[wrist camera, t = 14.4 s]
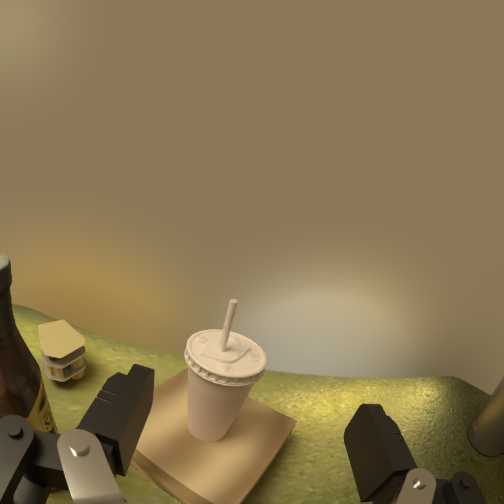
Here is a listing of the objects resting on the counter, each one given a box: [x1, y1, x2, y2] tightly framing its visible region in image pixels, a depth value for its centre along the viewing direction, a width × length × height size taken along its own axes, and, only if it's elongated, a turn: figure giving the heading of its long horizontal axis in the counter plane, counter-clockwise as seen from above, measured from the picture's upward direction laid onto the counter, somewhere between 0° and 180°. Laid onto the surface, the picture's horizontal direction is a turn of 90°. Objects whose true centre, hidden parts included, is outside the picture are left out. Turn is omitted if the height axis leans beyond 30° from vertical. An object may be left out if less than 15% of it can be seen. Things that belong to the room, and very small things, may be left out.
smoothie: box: [185, 299, 267, 442], centre depth 22 cm, size 6×6×14 cm
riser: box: [130, 368, 297, 504], centre depth 24 cm, size 14×14×4 cm
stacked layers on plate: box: [38, 320, 86, 382], centre depth 28 cm, size 10×9×6 cm
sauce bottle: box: [0, 253, 58, 491], centre depth 12 cm, size 7×6×20 cm
